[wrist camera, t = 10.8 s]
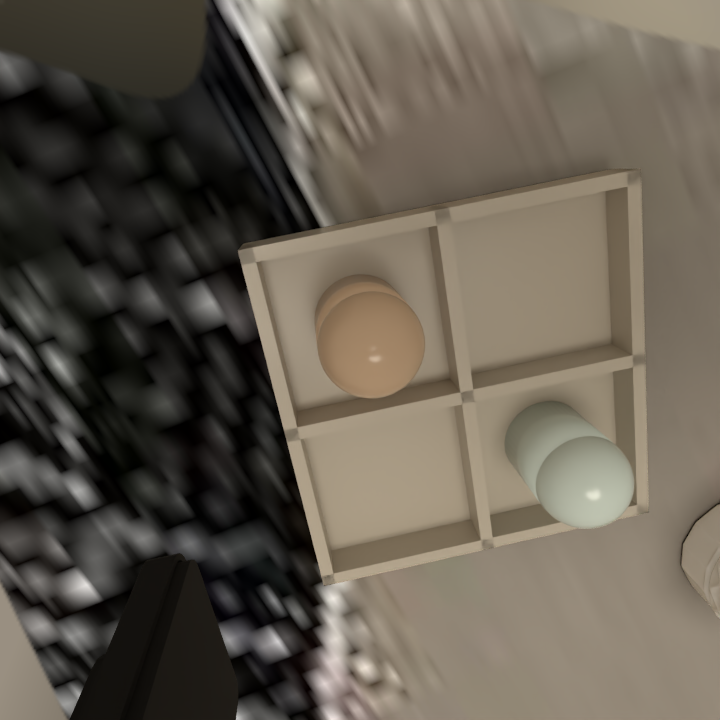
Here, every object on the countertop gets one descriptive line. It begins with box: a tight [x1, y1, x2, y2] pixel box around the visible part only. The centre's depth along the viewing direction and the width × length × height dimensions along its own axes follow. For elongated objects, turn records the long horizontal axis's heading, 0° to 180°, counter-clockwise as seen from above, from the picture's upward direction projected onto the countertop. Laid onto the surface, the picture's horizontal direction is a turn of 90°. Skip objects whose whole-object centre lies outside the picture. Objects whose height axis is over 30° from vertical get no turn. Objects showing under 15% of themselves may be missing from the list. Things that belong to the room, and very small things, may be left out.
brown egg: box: [314, 274, 425, 398], centre depth 23 cm, size 4×4×6 cm
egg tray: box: [238, 169, 649, 586], centre depth 27 cm, size 17×17×2 cm
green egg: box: [505, 401, 634, 529], centre depth 26 cm, size 4×4×6 cm
